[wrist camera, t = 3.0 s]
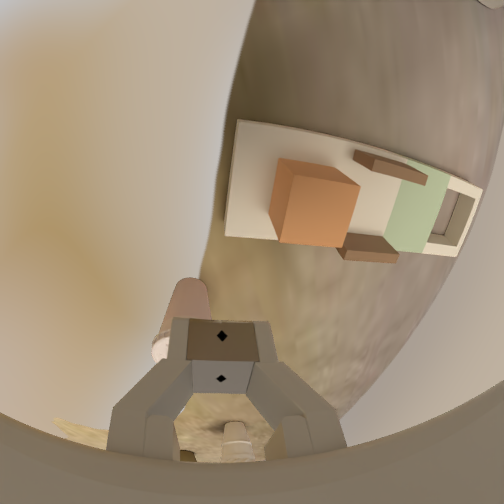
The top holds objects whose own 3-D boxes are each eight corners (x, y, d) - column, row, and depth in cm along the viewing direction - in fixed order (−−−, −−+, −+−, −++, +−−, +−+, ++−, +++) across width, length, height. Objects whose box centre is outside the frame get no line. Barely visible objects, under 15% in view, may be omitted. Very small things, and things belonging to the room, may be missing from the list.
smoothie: (193, 257, 29) (183, 370, 17) (229, 293, 32) (238, 402, 20) (152, 286, 30) (128, 392, 18) (189, 317, 33) (183, 419, 22)
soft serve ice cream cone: (247, 415, 51) (255, 482, 37) (256, 426, 55) (265, 486, 42) (210, 420, 51) (214, 486, 38) (223, 432, 55) (228, 490, 42)
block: (278, 157, 21) (293, 174, 17) (334, 167, 22) (360, 186, 18) (268, 213, 24) (279, 242, 19) (321, 219, 25) (341, 247, 20)
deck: (237, 119, 22) (242, 126, 16) (468, 181, 27) (501, 201, 21) (224, 221, 27) (225, 257, 21) (443, 245, 32) (470, 271, 27)
